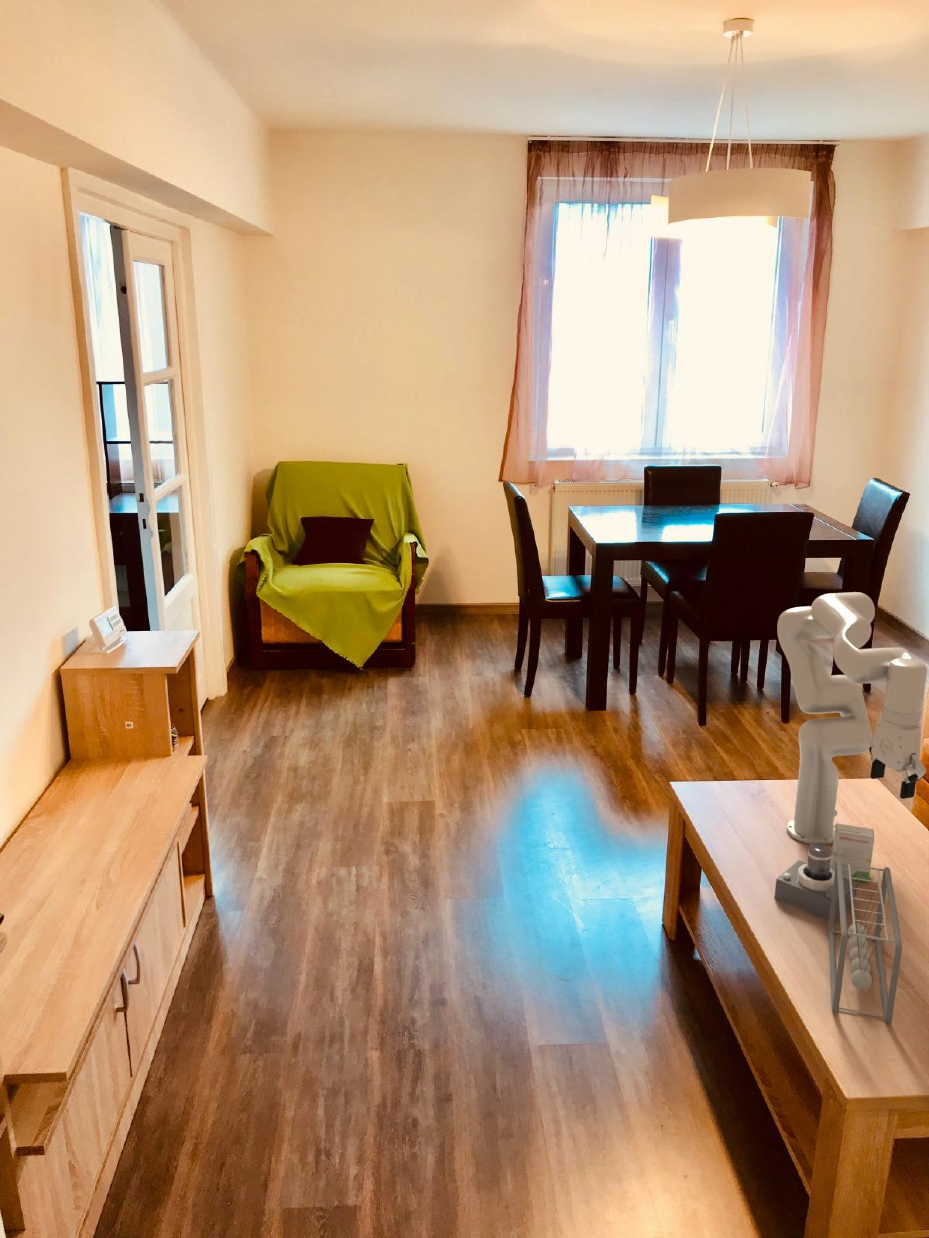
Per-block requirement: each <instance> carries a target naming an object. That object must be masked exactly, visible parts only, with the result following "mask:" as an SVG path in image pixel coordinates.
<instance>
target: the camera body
mask: <svg viewBox="0 0 929 1238" xmlns="http://www.w3.org/2000/svg"><path fill="white" fill-rule="evenodd" d="M807 863H808V862H805V861H802V860H797V861H796V862H795V863H793V864H792V865H791V866H790V867H788V869H786V870H785V871H784V872H782V873H781V874H780V875H779V876H778V877H777V878H776V879H775V889H774V898H775V899H777V900H778V901H781V902H784V903H786V904H788V905H791V906H793V907H796V908H798V909H799V910H802V911H805V912H807V913H810V914H811V915H814V916H816V917H819V918H821V919H824V920H826V921H827V922H829V917H830V908H831V900H832V892H833V883H834V875H835V871H834V870H832V869H831V868H830V872H829V880H826V881H819V880H814V879H811V878H809V877H807V876H806V873H807ZM843 879H844V893H845V907H846V911H848V910H849V909H850V908H852V906H851V894H850V882H849V879H846V878H843ZM855 888H858V882H856V881H855V880H853V890H854V898H856V899H857V892H858V891H857V890H858V889H855ZM853 890H852V893H853ZM856 899H854V900H855V901H856ZM853 905H854V901H853ZM838 919H840V909H839V893H838V897H837V905H836V913H835V922H837V920H838Z"/></svg>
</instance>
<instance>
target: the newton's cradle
mask: <svg viewBox="0 0 929 1238" xmlns="http://www.w3.org/2000/svg"><path fill="white" fill-rule="evenodd" d="M843 865H846V866H848V869H849V882H850V894H851V916H852V917H851V918H852V924H851V925H850V926H849V927H848V924H847V923H848V922H847V913H846V912H847V910H846V907H845V893H844V879H843ZM850 866H852V867H859V868H865V869H870V870H873V871H876V872H877V881H875V880H872V882H873V883H876V884H875V887H874V889H873V890H872V894H871V897H870V899H869V900H868V899H867V900H866V899H865V901H866V902H868V904H867V907H866V909H864V910H863V909H861V911H863V912H864V915H862V916H863V917H862V919H861V921H860V920H857V919H858V918H857V911H858V910H859V911H860V909H857V908H856V900H857V897H856V898H854V890H853V881H854V880H852V878H851V869H850ZM880 871H881V872H882V876H880ZM854 879H857V878H854ZM860 880H863V879H860ZM866 881H868V882H870V880H866ZM877 886H878V888H879V891H876V888H877ZM855 889H857V890H859V888H858V887H857V888H855ZM852 890H853V893H852ZM860 890H861V891H865V888H864V889H863V888H860ZM866 891H868V892H871V889H870V890H869V889H866ZM894 892H895V891H894V885H893V880H892V873H891V868H889V867H888V866H885V867H884V868H883V869H882V868H876V867H865V866H858V865H852V864H845V863H842V861H841V860H837V861H836V867H835V875H834V883H833V892H832V900H831V908H830V917H829V921H828V949H829V950H828V951H829V972H830V973H829V974H830V975H829V977H830V995H831V996H830V998H831V999H830V1000H831V1003H830V1004H831V1011H832V1012H833V1013H838V1011H839V1010H843V1011H848V1012H853V1013H857V1014H861V1015H862V1014H864V1015H868V1016H873V1017H878V1018H882V1019H884V1021H885V1022H886V1023H888V1024H890V1023H891V1022H892V1020H893V1015H894V1008H895V1001H896V995H897V994H896V993H897V987H898V981H899V974H900V969H901V967H900V966H901V960H902V954H903V953H902V951H903V947H902V936H901V930H900V924H899V918H898V911H897V906H896V899H895V893H894ZM838 893H839V909H840V917H839V922H840V931H837V930H835V922H836V921H835V913H836V905H837V897H838ZM874 893H877V895H876V897H875V900H872V898H873V895H874ZM886 895H887V896H886ZM878 897H879V898H878ZM886 897H887V898H888V904H889V912H890V917H891V926H892V931H893V933H892V934H893V938H894V939H889V935H888V934H889V933H888V928H887V921H886V920H887V919H886V918H887V917H886V914H885V913H886V911H885V905H886V904H885V903H886ZM854 899H855V900H854ZM877 899H878V901H877ZM859 900H860V901H864V899H862V898H859ZM853 901H854V904H853ZM871 902H873V904H872V907H871V909H870V910H868V908H869V905H870V903H871ZM876 903H877V904H878V906H877V909H876V911H875V912H874V911H873V910H874V907H875V904H876ZM856 910H857V911H856ZM867 912H870V913H869V916H868V918H867V921H864V918H865V916H866V914H867ZM872 913H874V917H873V919H872V921H869V920H870V917H871V915H872ZM875 918H876V921H875ZM857 921H858V922H860V923H858V922H857ZM874 921H875V922H874ZM862 923H865V925H862ZM868 923H870V927H869V929H868V932H867V929H866V927H867V925H868ZM873 924H874V925H875V928H874V931H873V933H872V935H871V936H870V935H869V934H870V932H871V928H872V926H873ZM883 927H884V933H885V938H882V937H881V933H882V929H883ZM835 934H837V935H838V934H840V946H839V954H838V959H837V960H838V961H837V962H836V944H835ZM848 937H849V940H848ZM867 939H869V940H870V941H869V942H868V941H867ZM873 940H874V943H875V944H874V945H873V948H872V951H871V954H870V953H869V948H870V946H871V942H872V941H873ZM883 941H884V942H888V943H894V956H893V961H892V962H893V964H892V970H891V977H890V986H889V991H888V987H887V981H886V979H887V978H886V971H885V964H884V962H885V961H884V954H883V945H882V942H883ZM847 947H849V949H850V951H849V958H850V961H851V962H850V964H849V965H850V971H851V972H852V974H851V976H850V978H851V979H850V980H851V983H852V985H853V986H854V987H855V988H856V989H858V990H860V991H866V990H868V989H870V987H872V983H873V980H872V976H871V974H870V973H871V965H870V961H871V958H872V955H873V952H874V951H875V952H876V960H877V969H878V976H879V986H880V987H879V988H880V994H881V995H880V996H881V1002H882V1003H881V1004H882V1011H883V1012H882V1013H883V1015H882V1014H877V1013H873V1012H869V1011H868V1012H867V1011H863V1010H862V1011H861V1010H856V1009H852V1008H847V1007H842V1006H840V1001H841V994H842V993H841V992H842V987H843V977H844V971H845V970H844V969H845V962H846V954H847ZM836 963H837V964H836Z"/></svg>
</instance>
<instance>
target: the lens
mask: <svg viewBox="0 0 929 1238" xmlns="http://www.w3.org/2000/svg"><path fill="white" fill-rule="evenodd" d="M807 850H808V851H807V862H806V863H807V873H806V876H807V877H809V878H811V879H814V880H819V881H826V880H829V872H830V863H831V858H832V849H831V848H830V847H829V846H828V845H822V844H809V847H808V849H807Z"/></svg>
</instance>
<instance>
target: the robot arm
mask: <svg viewBox="0 0 929 1238" xmlns="http://www.w3.org/2000/svg"><path fill="white" fill-rule="evenodd" d="M875 615H876V608H875V605H874V602H873V600H872V599H871V598H870V596H869V595H867V594H866V593H863V592H859V591H858V592H856V591H853V592H850V591H849V592H837V593H836V592H833V593H832V592H831V593H825V594H823V595H820V596H818V597H816V598H815V599H814V600H813V602H812V604H811V606H810V605H808V606H807V605H806V606H797V607H792V608H789V609H786V610H784V611H783V612H782V613H781V614H780V615H779V617H778V620H777V626H776V627H777V631H776V633H777V637H778V641H779V644H780V648H781V649H782V651H783V653H784V655H785V657H786V660H787V663H788V665H789V670H790V674H791V679H792V684H793V688H794V694H795V698H796V701H797V705H798V708H799V710H800V711H801V712H803V713H804V714H809V715H822V714H823V715H824V714H835V713H836V714H837V713H839V715H840V716H839V717H837V716H836V717H822V718H813V719H810V720H808V721H807V720H806V721H805V722H804V723H802V724H801V726H800V727H799V730H798V745H799V746H798V747H799V768H798V779H797V789H796V797H795V809H794V816H793V817H794V818H793V819H791V820H790V821H788V823H787V824H786V831H787V834H789V836H790V837H792V838H793V839H794V840H796V841H798V842H801V843H804V844H807V845H812V844H822V845H825V846H828V845H831V844H832V845H833V841H834V834H835V825H834V822H835V817H836V816H837V815H838V811H837V809H836V805H837V796H838V787H839V780H840V773H839V769H838V767H837V766H836V764H835V763H834V761H833V760H832V759H833V758H834V757H840V756H853V755H861V754H864V753H866V752H868V751H869V752H870V755H871V756H870V761H871V762H872V763H871V769H870V775H869V777H870V779H872V780H874V779H875V780H877V779H882V778H884V777H885V772H886V766H887V767H889V768H891V770H894V771H895V772H898V773H900V772H901V776H902V778H903V781H901V785H900V792H899V798H900V799H901V800H904V799H905V800H906V799H910V798H914V797H915V794H916V785H917V783H918V782H919V781H920V780H922V779H923V777H924V775H925V774H926V773H927V768H926V767H925V765H924V764H923V762H922V761H921V760H920V755H921V744H922V743H921V741H922V738H921V737H922V736H921V726H920V724H921V717H922V710H923V704H924V703H923V702H924V696H925V690H926V681H927V675H928V668H927V665H926V664H925V663H924V662H923V661H920V660H918V659H916V658H915V657H914V655H912V653H910V652H909V650H907V649H906V648H903V647H898V646H897V647H877V648H876V647H875V648H862V647H863V646H864V645H866V643H867V642H868V641H869V640H870V639H871V638H870V637H871V635H872V625H871V623H872V622H873V620H874V618H875ZM826 639H827V640H828V639H832V640H833V644H832V654H833V659H834V662H835V665H836V666H837V668H838V669H839V670H840V671H841V672H842V673H843V674H836V675H835V674H834V675H830V674H828V671H827V669H826V664H825V663H826V662H825V659H824V657H823V655H822V654H821V653H820V652H819V650H818V649H817V648H816V647H815V646H814V645H813V644H811V642H809V641H811V640H826ZM860 648H861V649H860ZM875 683H878V684H879V683H885V691H884V698H883V704H882V706H883V707H882V713H881V714H880V715H879V718H878V720H877V723H876V725H875V730H874V734H873V733H872V728H871V723H870V719H869V716H868V715H869V714H868V710H867V707H866V703H865V702H866V701H865V698H864V694H863V690H862V688H861V686H860V684H875ZM908 772H910V775H909V773H908Z"/></svg>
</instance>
